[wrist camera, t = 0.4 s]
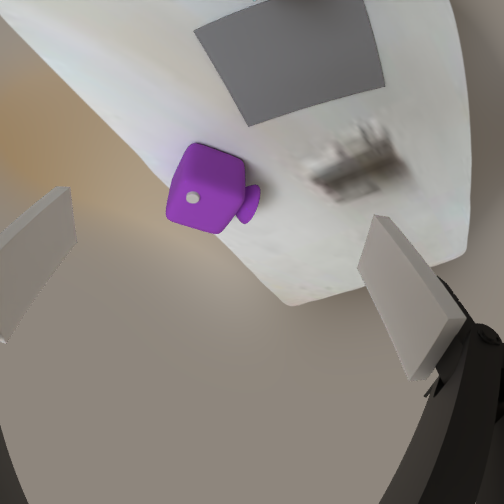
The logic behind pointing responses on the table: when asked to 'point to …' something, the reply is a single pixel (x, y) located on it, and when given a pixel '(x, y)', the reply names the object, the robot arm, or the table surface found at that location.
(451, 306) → the robot arm
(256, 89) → the mat
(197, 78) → the table surface
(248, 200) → the toy camera
